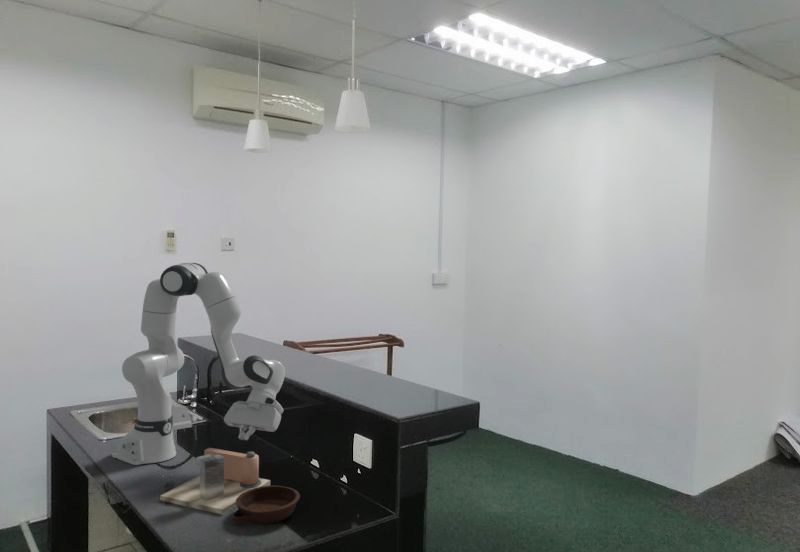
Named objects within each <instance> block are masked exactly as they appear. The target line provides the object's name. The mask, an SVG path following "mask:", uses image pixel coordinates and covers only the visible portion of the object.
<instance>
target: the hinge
mask: <svg viewBox="0 0 800 552" xmlns="http://www.w3.org/2000/svg"><path fill="white" fill-rule="evenodd" d="M171 415H172V416H173V426H172V430H173V431H176V430H183V429H187V428H192V427H193V423H192V419H191V416H190V412H189V408H188V407H186V406H181V405H171Z"/></svg>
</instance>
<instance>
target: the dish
mask: <svg viewBox="0 0 800 552" xmlns="http://www.w3.org/2000/svg"><path fill="white" fill-rule="evenodd" d="M300 497H301V494H300V493H299V492H298V490H296V489H294V488H292V487H288V486H282V485H275V484H274V485H270V486H261V487H257V488H253V489H250V490H248V491H246V492H244V493H242V494H241V495H239V496H238V497H237V499H236V505H237V506H236V507H237V508H238V509H237V510H235V512H233V513H232V515H231V521H232V523H234V524H245V523H251V524H258V525H268V524H273V523H274V524H275V523H278V522H281V521H283V520H286V519H287V518H289V517H290V516H291V515H292V514H293V512H294V511H295V508H296V506H297V503H298V502H299V500H300Z"/></svg>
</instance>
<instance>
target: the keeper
mask: <svg viewBox="0 0 800 552" xmlns="http://www.w3.org/2000/svg"><path fill="white" fill-rule="evenodd" d="M196 465H198V466H199V476H200V498H202V499H203V500H209V499H212V498H215V497H218V496H221V495H224V457H223V456H221V455H219V454H218V455H214V456H212V455H210V454H207V455H200V456H196Z"/></svg>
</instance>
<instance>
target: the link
mask: <svg viewBox="0 0 800 552" xmlns="http://www.w3.org/2000/svg"><path fill="white" fill-rule="evenodd" d="M203 454H204V455H207V454H210V455H212V456H214V455H218V454H219V455H221V456H223V457H224V478H225V479H230V480H235V481H240V482H242V483H243V484H245V485H253V484H256V483H258V482H259V478H260V475H259V474H260V472H259V470H260V468H259V467H260V465H259V464H260V462H259V461H260V457H259V456H260V455H258V454H257V453H255V452H254V451H247V452H246V453H243V452H236V451H231V450H226V449H225V450H224V449H221V448H214V447H208V448H206V449H204V453H203Z"/></svg>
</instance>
